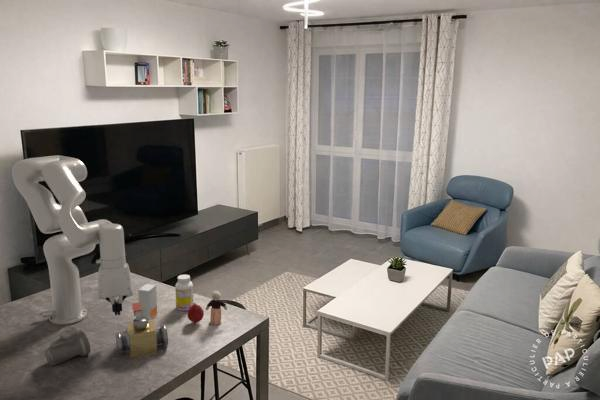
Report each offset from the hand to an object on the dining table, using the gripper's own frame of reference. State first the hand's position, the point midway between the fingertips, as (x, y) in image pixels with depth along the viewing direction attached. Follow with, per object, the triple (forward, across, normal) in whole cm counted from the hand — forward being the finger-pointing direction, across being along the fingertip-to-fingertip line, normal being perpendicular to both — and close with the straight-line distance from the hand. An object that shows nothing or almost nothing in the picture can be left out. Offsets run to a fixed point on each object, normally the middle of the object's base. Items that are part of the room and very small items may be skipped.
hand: (117, 313), depth 161 cm
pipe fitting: (+10, -15, -9) cm, 20 cm away
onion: (+10, +26, +4) cm, 28 cm away
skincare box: (+9, +10, +13) cm, 19 cm away
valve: (+9, +7, -9) cm, 15 cm away
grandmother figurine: (+10, +33, +2) cm, 35 cm away
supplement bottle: (+10, +23, +18) cm, 31 cm away
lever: (+1, +7, -4) cm, 8 cm away
